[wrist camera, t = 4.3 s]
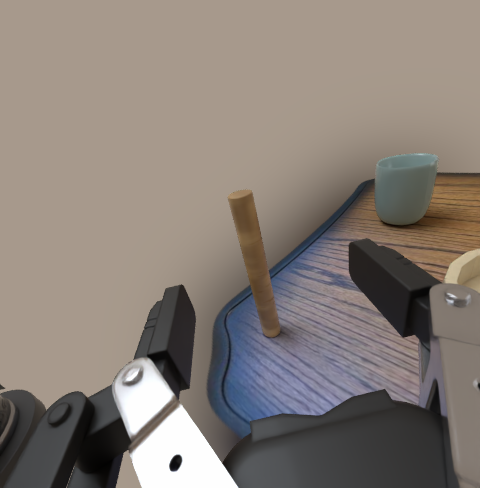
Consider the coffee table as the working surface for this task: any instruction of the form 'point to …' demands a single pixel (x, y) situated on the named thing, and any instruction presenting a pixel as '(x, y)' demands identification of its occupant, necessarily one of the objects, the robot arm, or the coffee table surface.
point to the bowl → (465, 270)
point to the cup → (404, 187)
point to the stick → (255, 259)
